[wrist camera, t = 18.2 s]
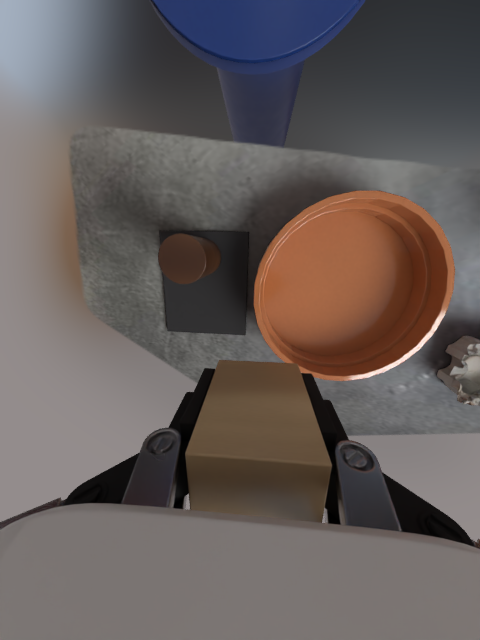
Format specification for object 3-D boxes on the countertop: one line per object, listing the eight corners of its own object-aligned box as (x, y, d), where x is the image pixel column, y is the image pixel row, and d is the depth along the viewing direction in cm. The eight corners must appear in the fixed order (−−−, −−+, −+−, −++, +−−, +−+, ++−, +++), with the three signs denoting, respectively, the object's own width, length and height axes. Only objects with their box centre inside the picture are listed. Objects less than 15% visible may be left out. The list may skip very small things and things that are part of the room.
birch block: (218, 359, 11) (183, 453, 6) (298, 363, 11) (333, 465, 6) (220, 422, 13) (192, 546, 7) (291, 427, 12) (316, 559, 7)
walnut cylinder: (185, 237, 25) (155, 232, 18) (221, 238, 24) (205, 233, 17) (187, 274, 26) (160, 283, 19) (221, 275, 26) (206, 285, 18)
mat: (160, 230, 25) (159, 230, 25) (248, 232, 24) (248, 232, 24) (168, 330, 29) (167, 331, 28) (245, 334, 28) (245, 335, 28)
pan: (258, 201, 23) (258, 190, 19) (441, 202, 22) (485, 191, 18) (251, 356, 29) (250, 375, 25) (397, 365, 28) (423, 386, 23)
